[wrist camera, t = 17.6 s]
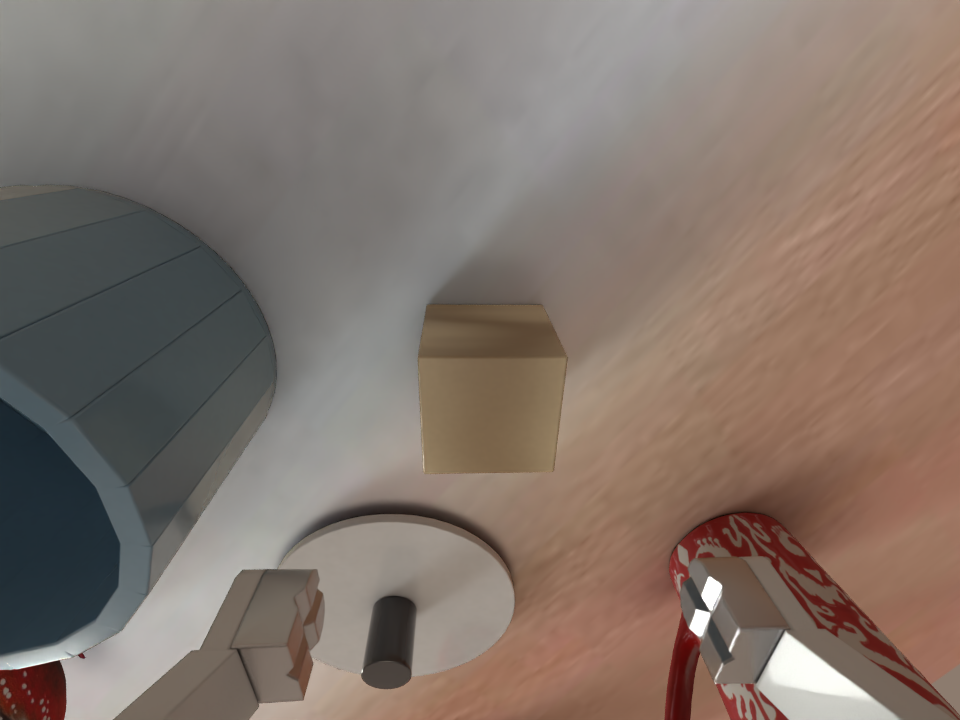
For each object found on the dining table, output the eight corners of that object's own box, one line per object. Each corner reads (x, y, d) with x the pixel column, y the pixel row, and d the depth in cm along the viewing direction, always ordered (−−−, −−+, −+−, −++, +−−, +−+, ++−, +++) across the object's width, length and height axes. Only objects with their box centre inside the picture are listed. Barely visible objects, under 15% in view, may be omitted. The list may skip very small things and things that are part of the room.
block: (430, 403, 21) (422, 475, 17) (426, 303, 19) (417, 356, 15) (534, 402, 22) (553, 473, 17) (543, 304, 19) (568, 356, 15)
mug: (766, 471, 24) (1064, 804, 12) (827, 554, 28) (1108, 879, 16) (576, 579, 28) (666, 923, 16) (651, 642, 31) (772, 963, 19)
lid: (259, 638, 29) (225, 726, 25) (302, 477, 23) (267, 556, 19) (466, 673, 32) (467, 757, 28) (550, 538, 26) (569, 618, 22)
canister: (-43, 424, 21) (-384, 627, 12) (-88, 124, 15) (-754, 119, 7) (253, 493, 23) (138, 699, 15) (303, 258, 18) (168, 374, 10)
